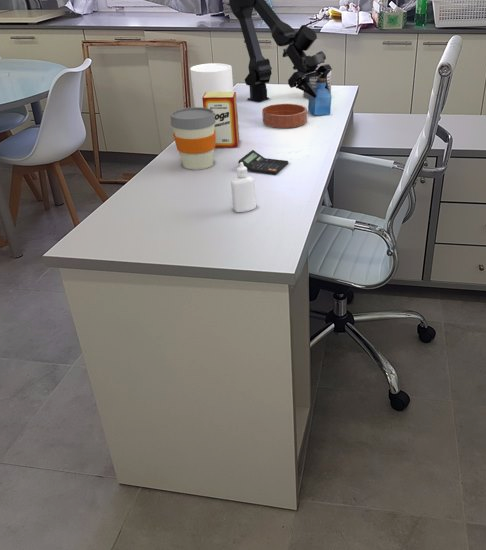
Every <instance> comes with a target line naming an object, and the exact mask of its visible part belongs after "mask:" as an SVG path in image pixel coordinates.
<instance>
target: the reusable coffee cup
mask: <svg viewBox="0 0 486 550" xmlns="http://www.w3.org/2000/svg"><path fill="white" fill-rule="evenodd" d="M215 122H216V121H215V116H214V111H213V110H211V109H209V108H202V107H195V106H193V107H184V108H180V109H176V110H174V111H172V112H171V113H170V126H171V127H172V130H173V140H174V142H175V143H174V144H175V146H176V150H177V151H178V153H179V156H180V159H181V163H182V166H183V168H186V169H187V170H203V169H208V168H210V167H213V165H214V161H215V160H214V159H215V158H214V157H215V155H214V153H215V149H216V148H215V140H216V131H215V130H214V124H215Z"/></svg>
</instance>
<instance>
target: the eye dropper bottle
mask: <svg viewBox="0 0 486 550" xmlns="http://www.w3.org/2000/svg"><path fill="white" fill-rule="evenodd" d="M230 187H231V198H232V209H233V211H234V212H236V213H246V212H249V211H252V210H254V209H256V208H257V197H256V196H257V195H256V183H255V179H254V177H252V176H251V175H248V169H247V167H245V166H244V164H243V162H240V164H239V166H238V167H236V177H235V178H233V179H232V180H231V184H230Z"/></svg>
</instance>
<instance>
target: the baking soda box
mask: <svg viewBox="0 0 486 550" xmlns="http://www.w3.org/2000/svg"><path fill="white" fill-rule="evenodd" d="M202 100H203V108H209V109H211V110H213V111H214V116H215V121H216V122H215V124H214V130H215V131H216V140H215V148H214V149H220V148H221V149H222V148H223V149H224V148H225V149H227V148H238V147H239V144H240V132H239V131H240V129H239V118H238V104H237V91H233V92H220V91H216V92H205V94H204V96H203V97H202Z"/></svg>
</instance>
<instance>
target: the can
mask: <svg viewBox="0 0 486 550" xmlns="http://www.w3.org/2000/svg"><path fill="white" fill-rule="evenodd" d="M321 65H322V64H318V67H317V68H316V69H315V71H316V70H317V69H318V68H319V67H320V66H321ZM309 80H310V84H311V85H312V87H313V88H316V87H317V85H316V81H317V79H316V78H315V77H312V78H309ZM327 82H328V87H329V91H330V95H331V96H332V70H331V71H330V72H329V73H328V75H327ZM303 98H304V99H306V100H309V94H308V93H306V92H304V91H303Z"/></svg>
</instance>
